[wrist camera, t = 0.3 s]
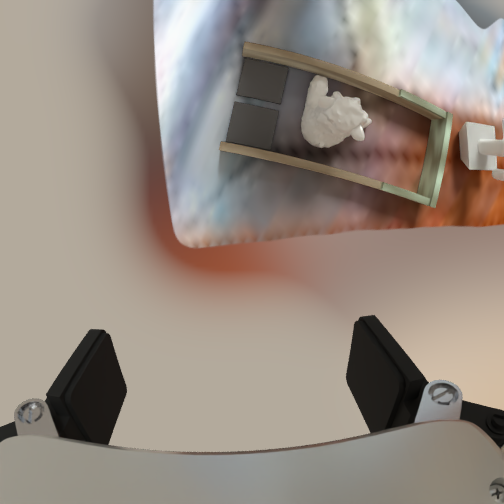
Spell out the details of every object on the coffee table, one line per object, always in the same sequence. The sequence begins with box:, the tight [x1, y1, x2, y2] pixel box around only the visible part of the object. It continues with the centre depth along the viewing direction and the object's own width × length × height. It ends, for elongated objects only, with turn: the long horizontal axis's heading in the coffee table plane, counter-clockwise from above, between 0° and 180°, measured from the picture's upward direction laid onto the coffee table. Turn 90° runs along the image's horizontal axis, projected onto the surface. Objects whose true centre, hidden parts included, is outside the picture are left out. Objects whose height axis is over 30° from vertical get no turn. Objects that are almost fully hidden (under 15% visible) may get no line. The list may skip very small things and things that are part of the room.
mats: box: [226, 58, 288, 150], centre depth 35 cm, size 11×6×1 cm, turn 168°
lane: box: [219, 42, 453, 208], centre depth 34 cm, size 14×30×4 cm, turn 78°
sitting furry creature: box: [301, 75, 372, 148], centre depth 30 cm, size 10×9×12 cm
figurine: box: [459, 118, 504, 181], centre depth 30 cm, size 7×9×15 cm
